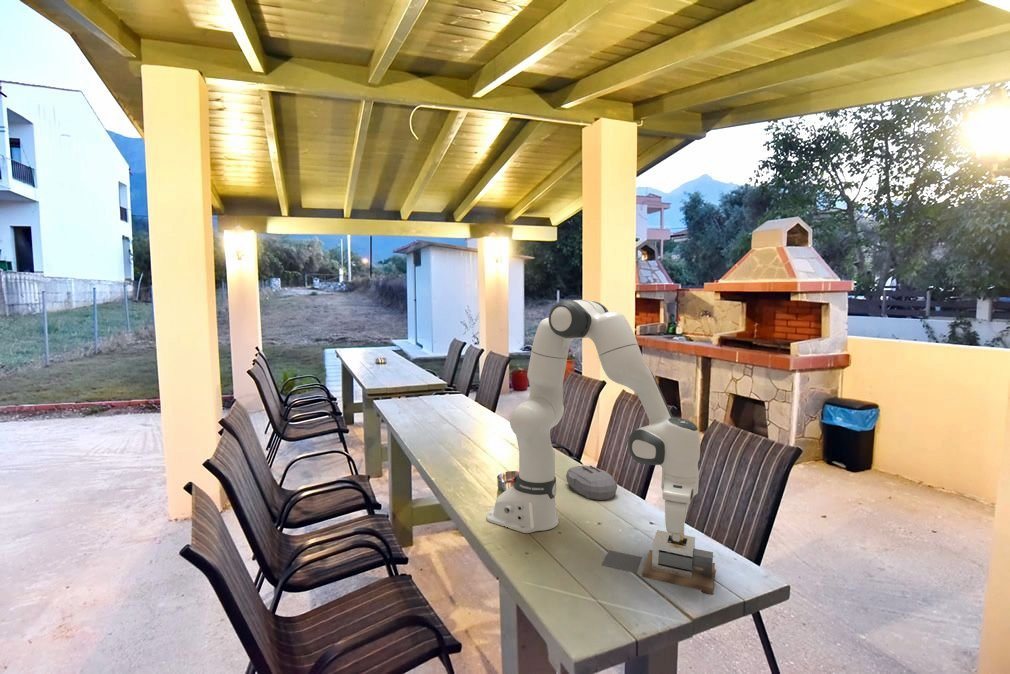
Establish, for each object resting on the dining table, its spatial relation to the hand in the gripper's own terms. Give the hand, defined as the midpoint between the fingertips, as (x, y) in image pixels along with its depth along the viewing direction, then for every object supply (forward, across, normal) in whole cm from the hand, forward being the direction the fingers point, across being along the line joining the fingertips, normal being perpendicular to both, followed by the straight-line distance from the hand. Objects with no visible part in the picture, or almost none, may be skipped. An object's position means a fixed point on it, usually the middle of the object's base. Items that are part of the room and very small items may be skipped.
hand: (677, 536), depth 133 cm
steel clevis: (+8, 0, +2) cm, 8 cm away
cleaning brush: (+10, -46, -33) cm, 57 cm away
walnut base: (+10, 0, 0) cm, 10 cm away
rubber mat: (+10, +1, -13) cm, 17 cm away
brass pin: (+7, 0, 0) cm, 7 cm away
